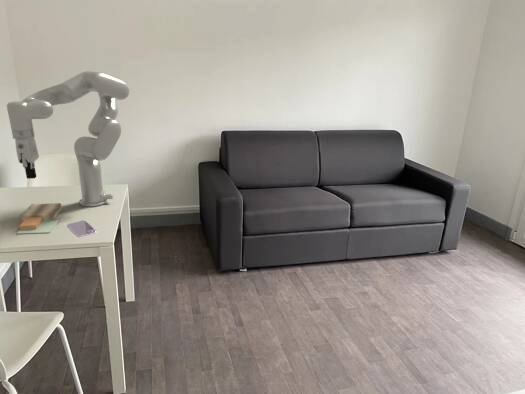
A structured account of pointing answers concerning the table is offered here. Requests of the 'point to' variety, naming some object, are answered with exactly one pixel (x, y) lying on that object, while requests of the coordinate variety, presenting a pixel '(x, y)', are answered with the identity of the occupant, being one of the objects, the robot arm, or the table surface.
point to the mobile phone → (82, 228)
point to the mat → (41, 228)
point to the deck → (42, 211)
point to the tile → (31, 223)
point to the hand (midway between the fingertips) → (31, 177)
